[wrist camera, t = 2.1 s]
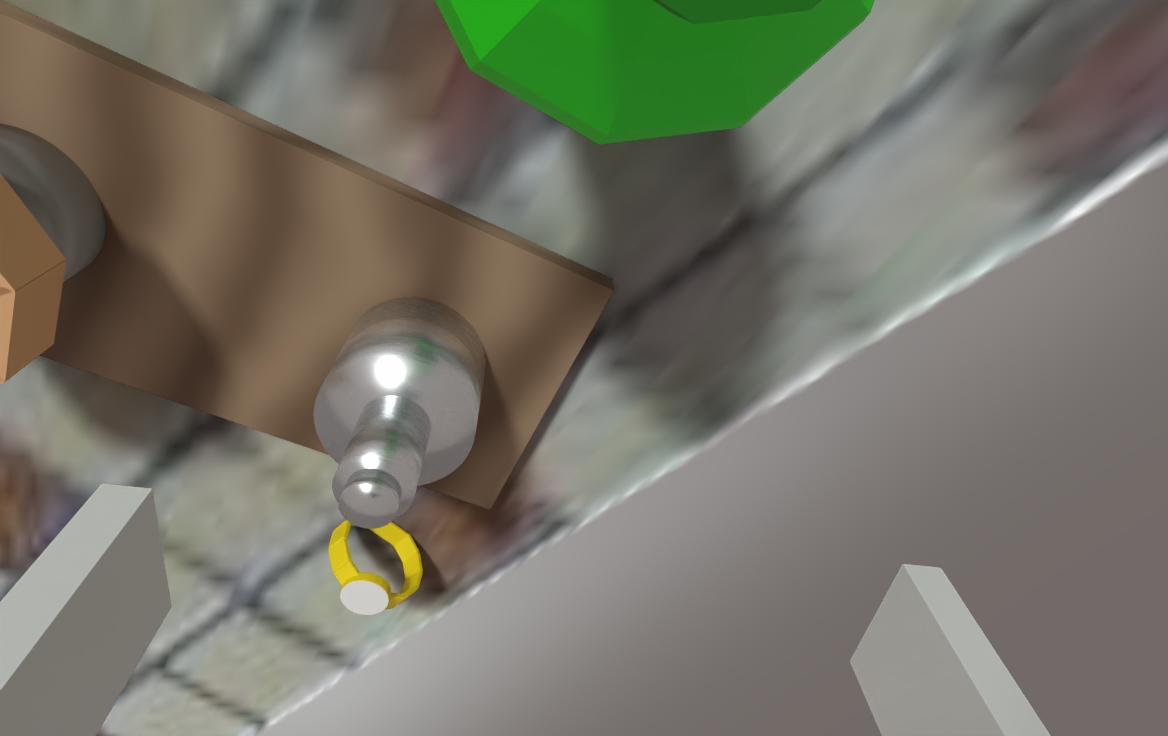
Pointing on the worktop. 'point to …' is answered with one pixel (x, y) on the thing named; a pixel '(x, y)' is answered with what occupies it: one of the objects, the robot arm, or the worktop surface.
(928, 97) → the worktop surface
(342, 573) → the watch
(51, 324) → the octagonal notched ring
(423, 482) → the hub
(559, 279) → the tool board
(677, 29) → the plastic bottle
